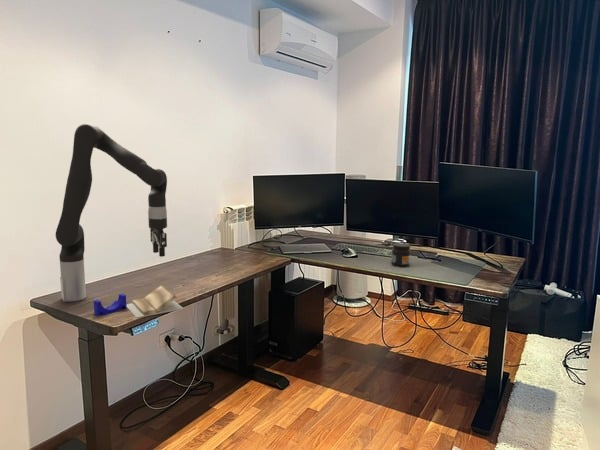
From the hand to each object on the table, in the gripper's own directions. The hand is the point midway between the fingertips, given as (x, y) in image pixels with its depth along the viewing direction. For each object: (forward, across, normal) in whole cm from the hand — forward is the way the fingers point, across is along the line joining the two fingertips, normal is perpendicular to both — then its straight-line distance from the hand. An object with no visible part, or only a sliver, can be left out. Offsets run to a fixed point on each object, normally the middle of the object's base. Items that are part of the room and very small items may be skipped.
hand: (158, 254), depth 200 cm
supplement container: (+20, +15, +135) cm, 137 cm away
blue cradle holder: (+20, +4, -22) cm, 30 cm away
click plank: (+17, +9, -3) cm, 19 cm away
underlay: (+20, +9, -6) cm, 22 cm away
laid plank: (+20, +9, -10) cm, 24 cm away
